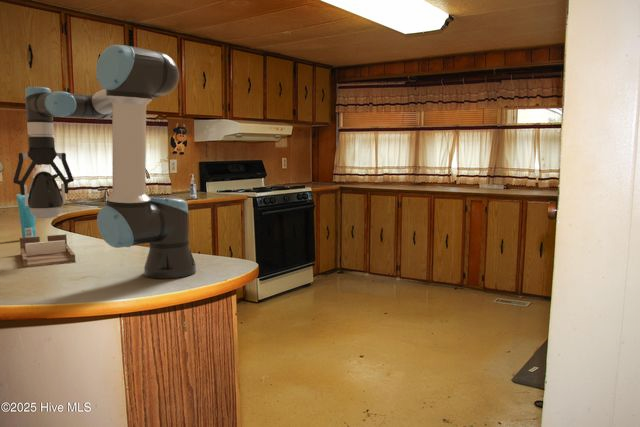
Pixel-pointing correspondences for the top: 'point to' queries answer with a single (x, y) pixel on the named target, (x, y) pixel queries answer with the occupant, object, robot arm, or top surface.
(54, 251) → the pusher
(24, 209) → the tube
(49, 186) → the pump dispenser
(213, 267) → the top surface
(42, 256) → the brown wooden tray
